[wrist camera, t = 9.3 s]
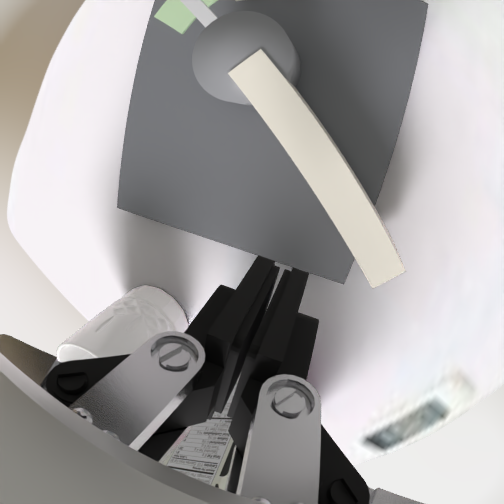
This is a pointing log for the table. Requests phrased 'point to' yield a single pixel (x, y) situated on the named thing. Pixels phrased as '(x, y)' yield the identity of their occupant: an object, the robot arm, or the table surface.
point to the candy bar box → (206, 450)
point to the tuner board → (267, 127)
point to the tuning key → (290, 124)
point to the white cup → (125, 325)
